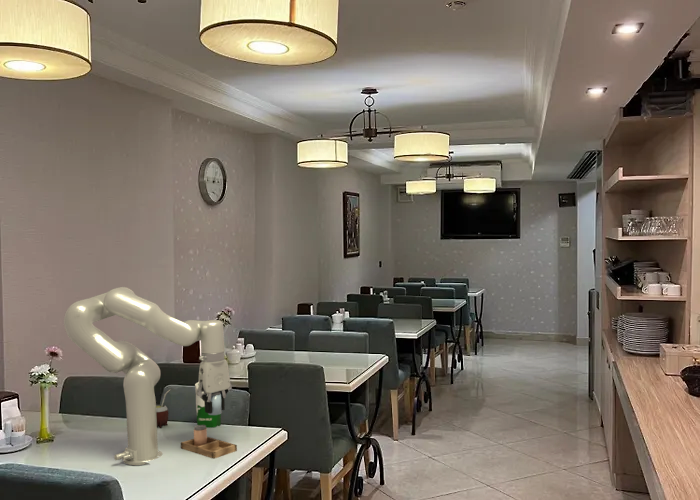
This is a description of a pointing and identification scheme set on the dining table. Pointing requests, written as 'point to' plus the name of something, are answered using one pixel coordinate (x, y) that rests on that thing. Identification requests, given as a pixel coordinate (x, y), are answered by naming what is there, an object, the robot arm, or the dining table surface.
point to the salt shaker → (216, 403)
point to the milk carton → (204, 417)
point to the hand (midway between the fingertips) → (214, 410)
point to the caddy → (210, 448)
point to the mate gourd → (162, 414)
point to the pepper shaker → (200, 435)
